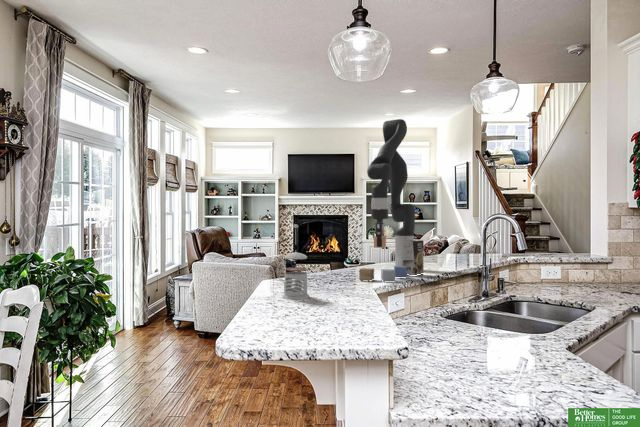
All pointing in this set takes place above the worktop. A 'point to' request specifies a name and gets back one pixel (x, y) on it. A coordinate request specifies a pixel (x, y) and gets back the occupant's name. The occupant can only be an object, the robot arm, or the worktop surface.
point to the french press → (295, 277)
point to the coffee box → (413, 256)
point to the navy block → (400, 271)
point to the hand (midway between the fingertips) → (380, 246)
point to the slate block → (388, 274)
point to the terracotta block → (382, 242)
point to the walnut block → (366, 274)
